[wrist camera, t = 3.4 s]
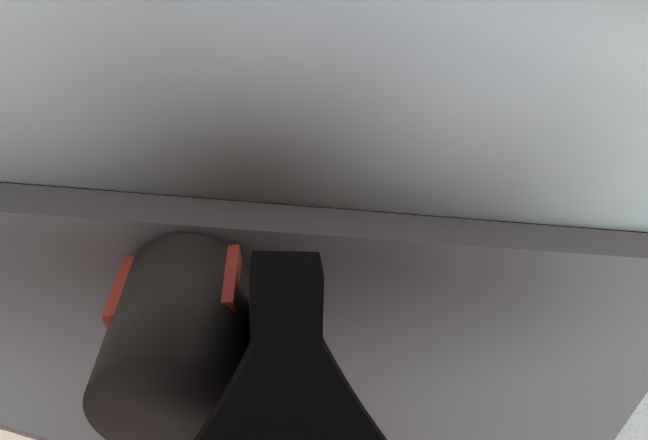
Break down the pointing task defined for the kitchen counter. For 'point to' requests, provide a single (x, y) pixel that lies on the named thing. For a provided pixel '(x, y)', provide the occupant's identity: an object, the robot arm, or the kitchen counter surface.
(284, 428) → the robot arm
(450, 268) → the station
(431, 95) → the kitchen counter surface
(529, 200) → the kitchen counter surface
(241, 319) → the square frame with handle
